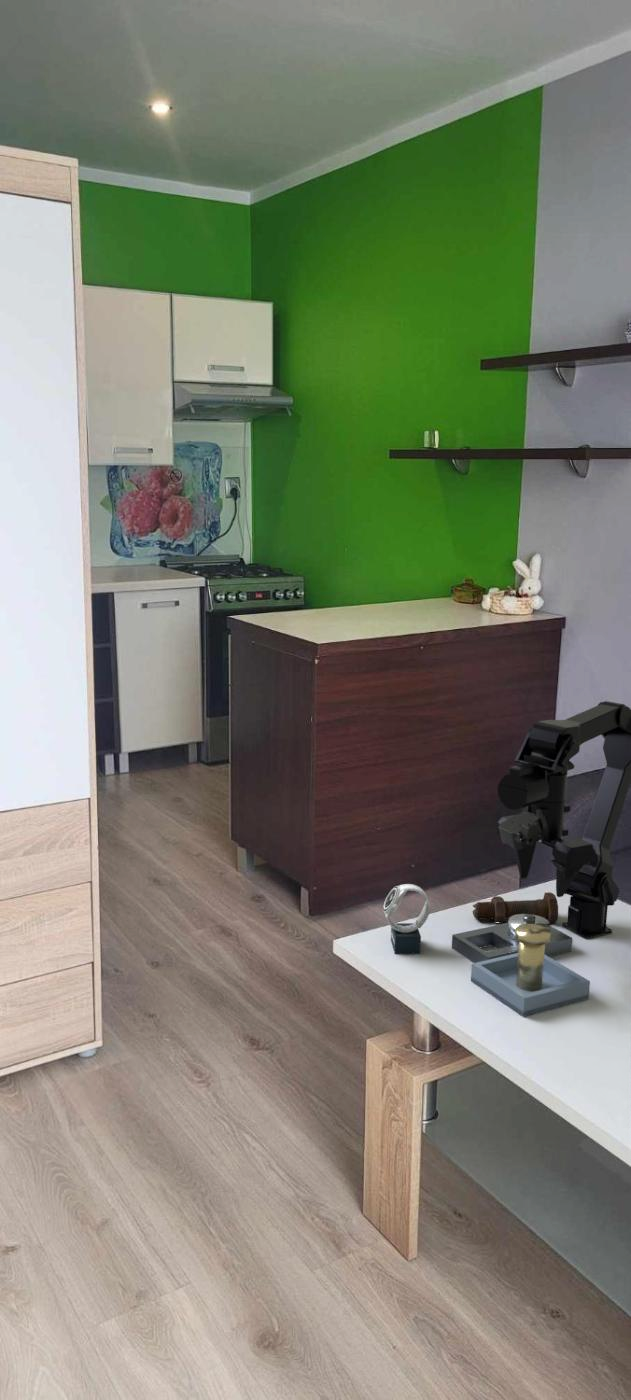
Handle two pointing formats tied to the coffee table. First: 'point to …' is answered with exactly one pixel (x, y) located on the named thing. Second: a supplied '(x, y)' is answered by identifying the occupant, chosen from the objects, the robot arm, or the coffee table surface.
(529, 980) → the pin
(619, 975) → the coffee table surface
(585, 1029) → the coffee table surface
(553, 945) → the block
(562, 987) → the tray
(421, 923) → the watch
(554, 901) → the bolt
